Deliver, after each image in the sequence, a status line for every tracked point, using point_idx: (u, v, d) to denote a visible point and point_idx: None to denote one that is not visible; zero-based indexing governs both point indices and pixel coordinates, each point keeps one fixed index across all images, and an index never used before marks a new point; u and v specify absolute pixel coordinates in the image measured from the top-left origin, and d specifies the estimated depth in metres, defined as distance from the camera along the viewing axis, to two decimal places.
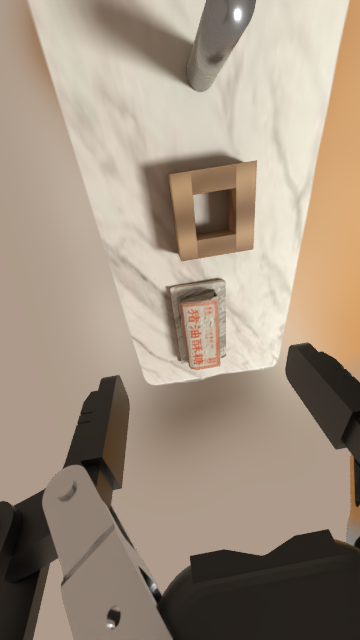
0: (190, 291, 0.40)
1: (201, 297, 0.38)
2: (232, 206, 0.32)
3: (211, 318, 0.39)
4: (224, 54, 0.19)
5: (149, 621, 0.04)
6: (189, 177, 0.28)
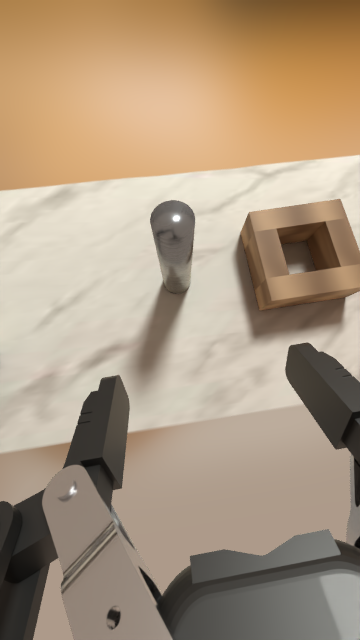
0: None
1: None
2: (289, 234, 0.27)
3: None
4: None
5: (149, 621, 0.04)
6: (272, 279, 0.24)
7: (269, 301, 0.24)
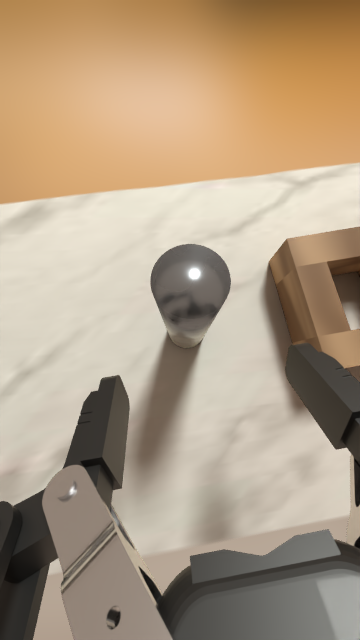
0: None
1: None
2: (340, 266, 0.20)
3: None
4: None
5: (149, 621, 0.04)
6: (326, 337, 0.17)
7: None
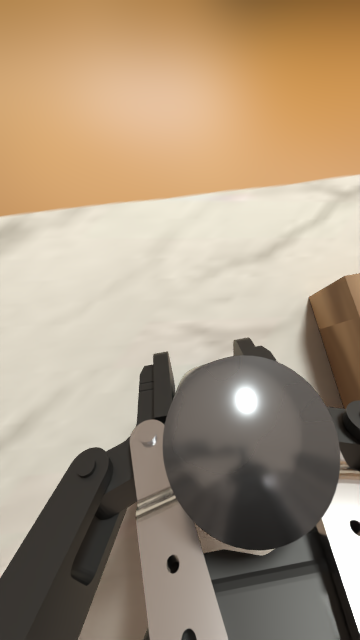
0: None
1: None
2: None
3: None
4: None
5: (203, 588, 0.04)
6: None
7: None
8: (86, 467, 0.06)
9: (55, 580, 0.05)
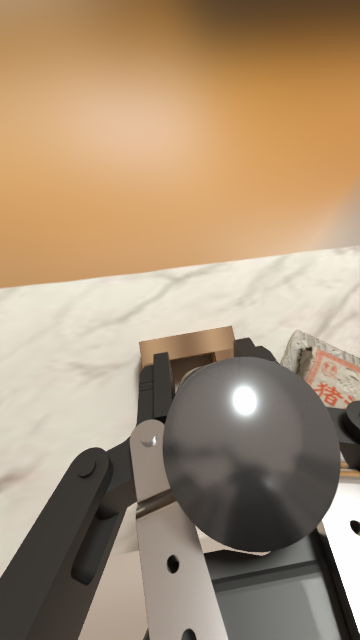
0: None
1: (303, 367, 0.26)
2: (184, 357, 0.27)
3: (345, 372, 0.25)
4: None
5: (203, 588, 0.04)
6: None
7: None
8: (87, 467, 0.06)
9: (55, 580, 0.05)
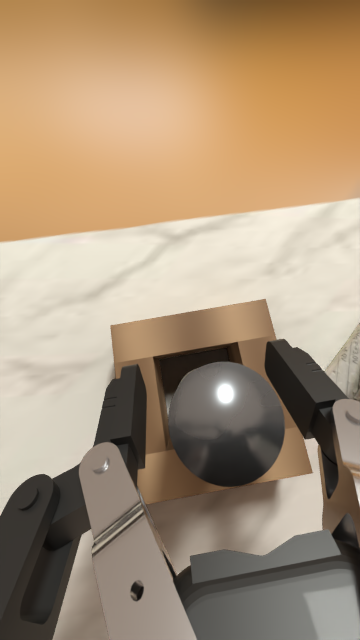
0: (348, 372, 0.18)
1: None
2: (186, 352, 0.17)
3: None
4: None
5: (170, 603, 0.04)
6: None
7: None
8: (28, 498, 0.06)
9: (0, 628, 0.04)
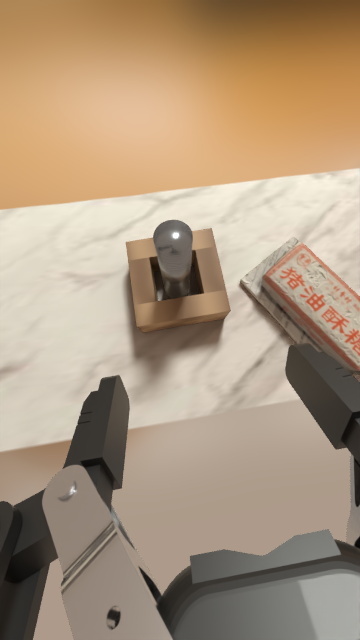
0: (264, 269, 0.30)
1: None
2: None
3: (316, 267, 0.27)
4: None
5: (149, 621, 0.04)
6: (139, 305, 0.26)
7: (137, 326, 0.26)
8: None
9: None
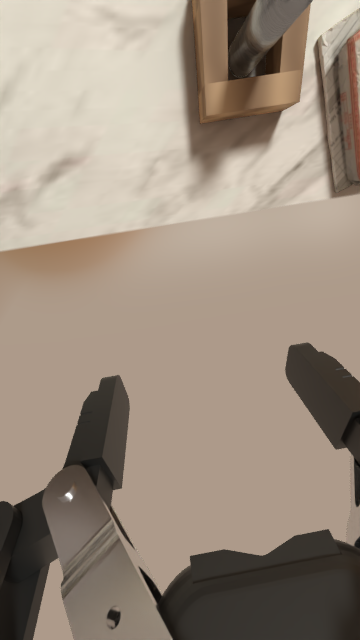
0: (352, 27, 0.25)
1: None
2: (244, 3, 0.23)
3: None
4: None
5: (149, 621, 0.04)
6: (210, 85, 0.24)
7: (205, 115, 0.26)
8: None
9: None
